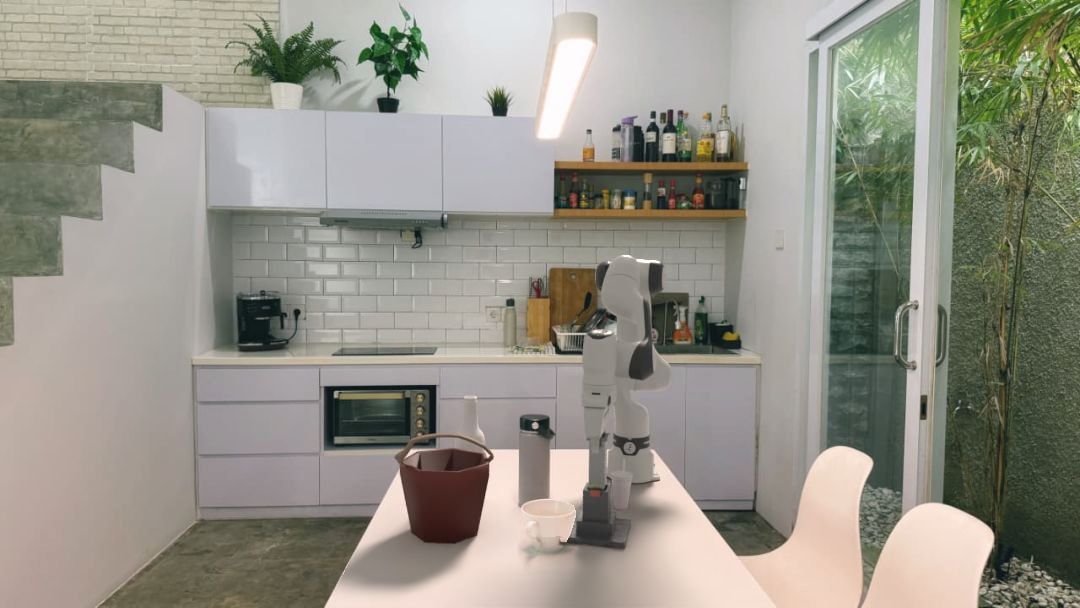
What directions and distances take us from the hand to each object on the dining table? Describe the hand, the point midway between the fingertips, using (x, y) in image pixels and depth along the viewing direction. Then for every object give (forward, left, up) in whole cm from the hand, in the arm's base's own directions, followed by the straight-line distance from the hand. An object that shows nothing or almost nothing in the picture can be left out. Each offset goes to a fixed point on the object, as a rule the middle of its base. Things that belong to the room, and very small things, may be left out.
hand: (598, 448), depth 174 cm
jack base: (0, 0, -22) cm, 22 cm away
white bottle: (-17, -40, -22) cm, 49 cm away
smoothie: (-21, +4, -22) cm, 31 cm away
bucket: (+8, -38, -22) cm, 45 cm away
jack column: (0, 0, -15) cm, 15 cm away
